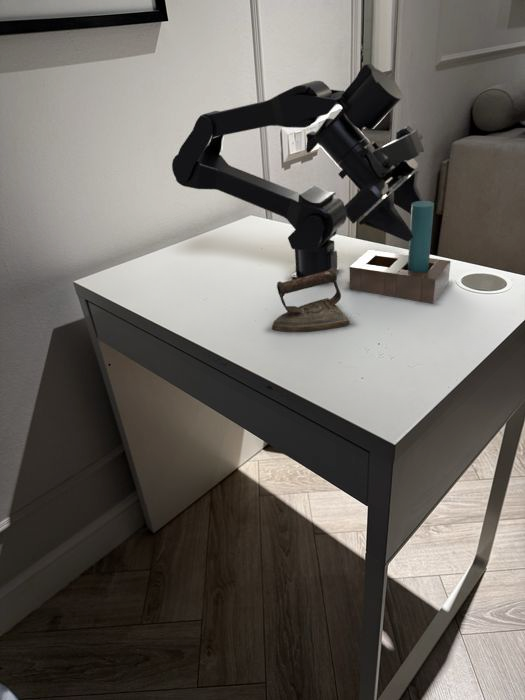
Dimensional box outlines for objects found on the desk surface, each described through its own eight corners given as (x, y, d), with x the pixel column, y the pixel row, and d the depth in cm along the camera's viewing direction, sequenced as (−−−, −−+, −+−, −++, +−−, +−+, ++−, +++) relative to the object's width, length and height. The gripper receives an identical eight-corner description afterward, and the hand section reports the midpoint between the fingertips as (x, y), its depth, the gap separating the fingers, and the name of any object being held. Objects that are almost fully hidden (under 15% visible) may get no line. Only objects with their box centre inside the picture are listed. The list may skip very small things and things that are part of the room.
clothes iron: (355, 326, 77) (342, 271, 70) (285, 357, 76) (266, 304, 70) (335, 303, 82) (322, 250, 76) (271, 331, 82) (252, 280, 75)
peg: (411, 294, 83) (417, 208, 76) (403, 286, 86) (408, 202, 78) (430, 291, 83) (438, 205, 76) (421, 283, 86) (427, 199, 79)
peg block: (349, 289, 87) (349, 266, 85) (368, 271, 92) (368, 249, 90) (433, 303, 80) (435, 279, 78) (448, 283, 85) (450, 260, 83)
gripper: (367, 122, 66) (447, 213, 67) (409, 101, 80) (475, 177, 80) (313, 182, 74) (385, 263, 75) (360, 153, 88) (421, 222, 88)
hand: (419, 229), depth 79 cm, fingers open, 9 cm apart
